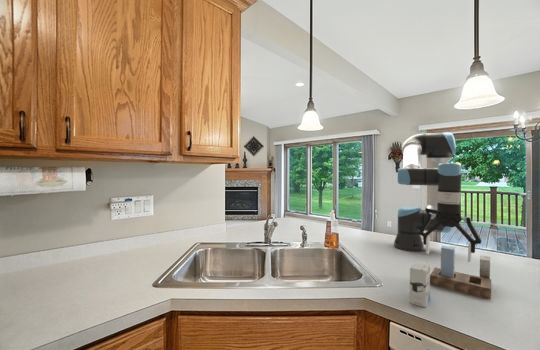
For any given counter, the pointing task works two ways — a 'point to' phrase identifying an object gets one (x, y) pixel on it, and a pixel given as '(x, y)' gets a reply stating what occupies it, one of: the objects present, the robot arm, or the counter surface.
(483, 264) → the grey upright block
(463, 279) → the bit holder block
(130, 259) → the counter surface
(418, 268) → the ink box
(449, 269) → the square bit
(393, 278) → the counter surface
